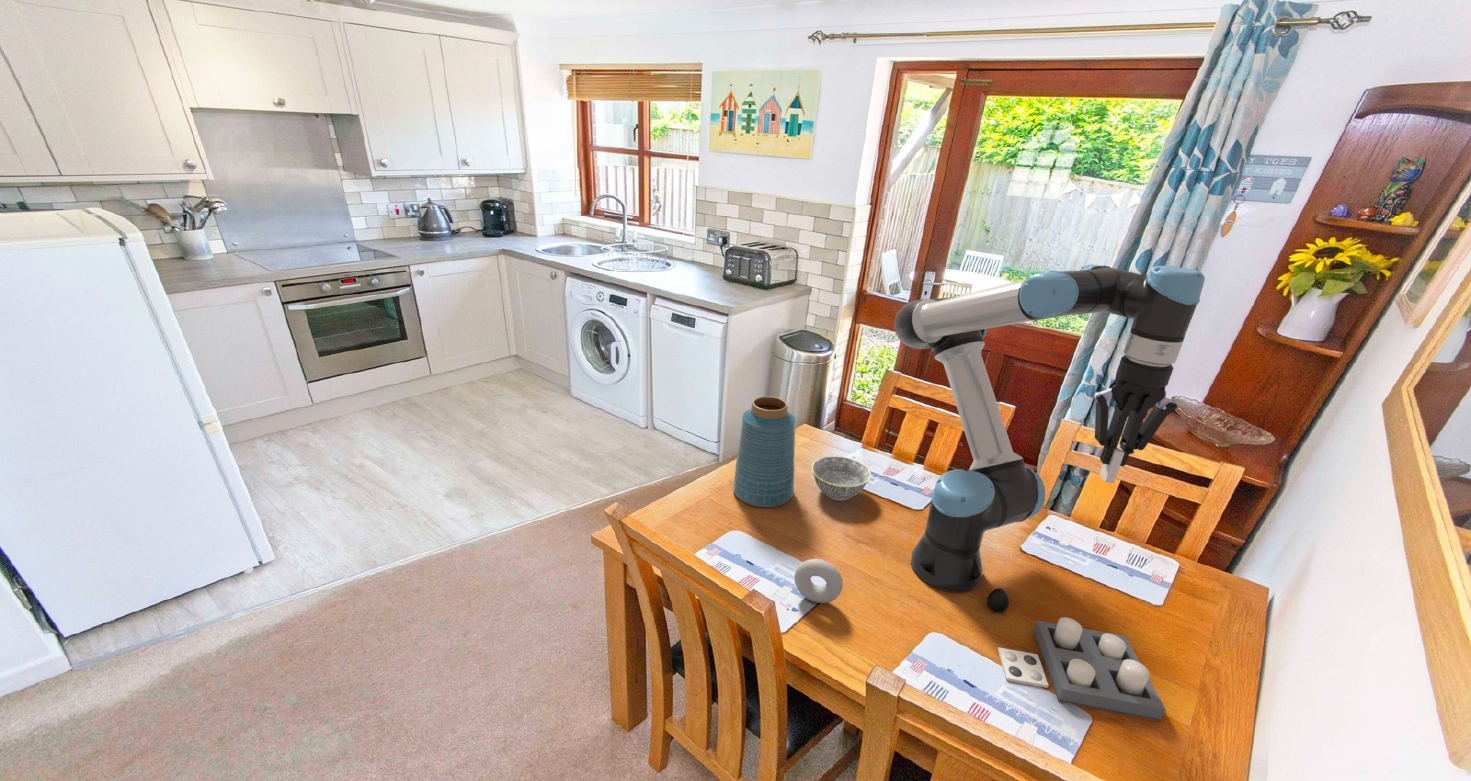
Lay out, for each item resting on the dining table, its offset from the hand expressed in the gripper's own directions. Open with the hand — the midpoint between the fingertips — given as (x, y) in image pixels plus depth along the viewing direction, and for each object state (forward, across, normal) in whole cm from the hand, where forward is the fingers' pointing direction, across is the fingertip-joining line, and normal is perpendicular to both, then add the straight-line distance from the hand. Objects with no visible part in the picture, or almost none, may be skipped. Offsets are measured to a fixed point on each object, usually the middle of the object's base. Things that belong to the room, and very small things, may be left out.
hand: (1106, 478), depth 106 cm
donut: (+33, -50, -9) cm, 60 cm away
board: (+32, +1, -15) cm, 36 cm away
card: (+32, -12, -17) cm, 38 cm away
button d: (+32, +5, -11) cm, 34 cm away
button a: (+32, -3, -19) cm, 37 cm away
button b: (+30, +5, -19) cm, 36 cm away
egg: (+33, -13, -2) cm, 35 cm away
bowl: (+33, -47, +33) cm, 66 cm away
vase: (+33, -67, +28) cm, 80 cm away
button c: (+30, -3, -11) cm, 32 cm away
